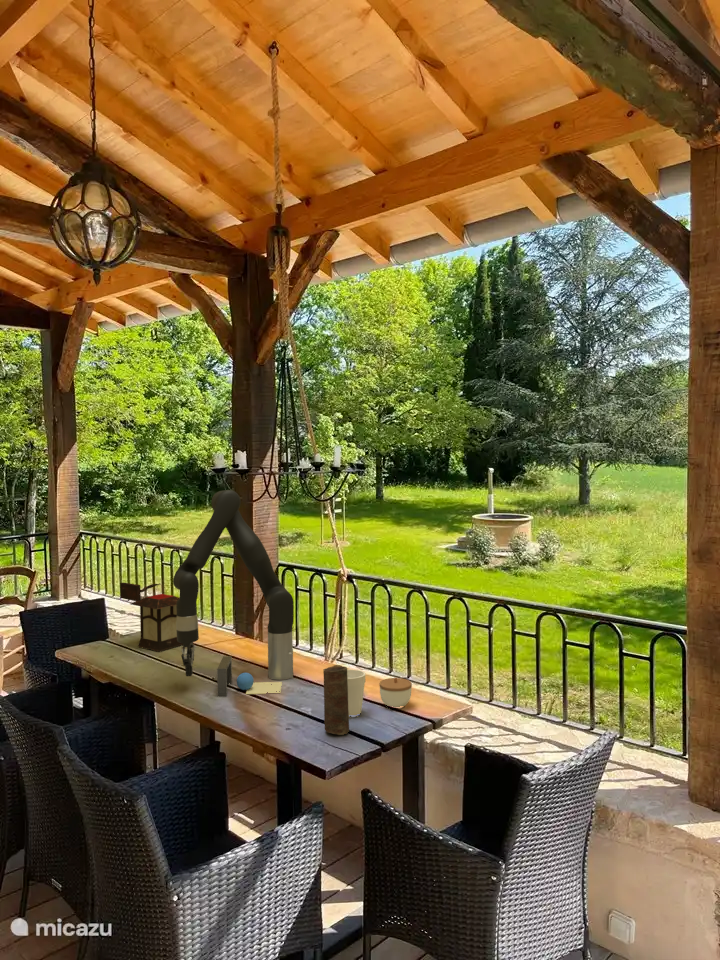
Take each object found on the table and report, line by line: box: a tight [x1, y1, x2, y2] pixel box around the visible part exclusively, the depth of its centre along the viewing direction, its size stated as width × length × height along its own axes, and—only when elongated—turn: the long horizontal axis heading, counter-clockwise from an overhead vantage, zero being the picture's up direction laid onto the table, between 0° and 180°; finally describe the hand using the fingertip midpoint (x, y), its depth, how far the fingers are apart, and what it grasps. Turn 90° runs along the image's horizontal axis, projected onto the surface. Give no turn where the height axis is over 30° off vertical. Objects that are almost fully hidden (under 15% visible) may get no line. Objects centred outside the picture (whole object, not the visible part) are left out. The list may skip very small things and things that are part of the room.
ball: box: [236, 672, 255, 691], centre depth 252 cm, size 6×6×6 cm
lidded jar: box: [378, 677, 413, 707], centre depth 234 cm, size 11×11×9 cm
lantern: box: [119, 582, 183, 653], centre depth 306 cm, size 18×26×30 cm
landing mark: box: [245, 681, 283, 695], centre depth 253 cm, size 12×12×1 cm
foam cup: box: [347, 668, 366, 715], centre depth 228 cm, size 10×9×13 cm
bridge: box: [216, 655, 233, 697], centre depth 252 cm, size 3×15×10 cm, turn 3°
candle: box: [323, 664, 350, 736], centre depth 212 cm, size 8×7×20 cm
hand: (189, 675), depth 252 cm, fingers closed
